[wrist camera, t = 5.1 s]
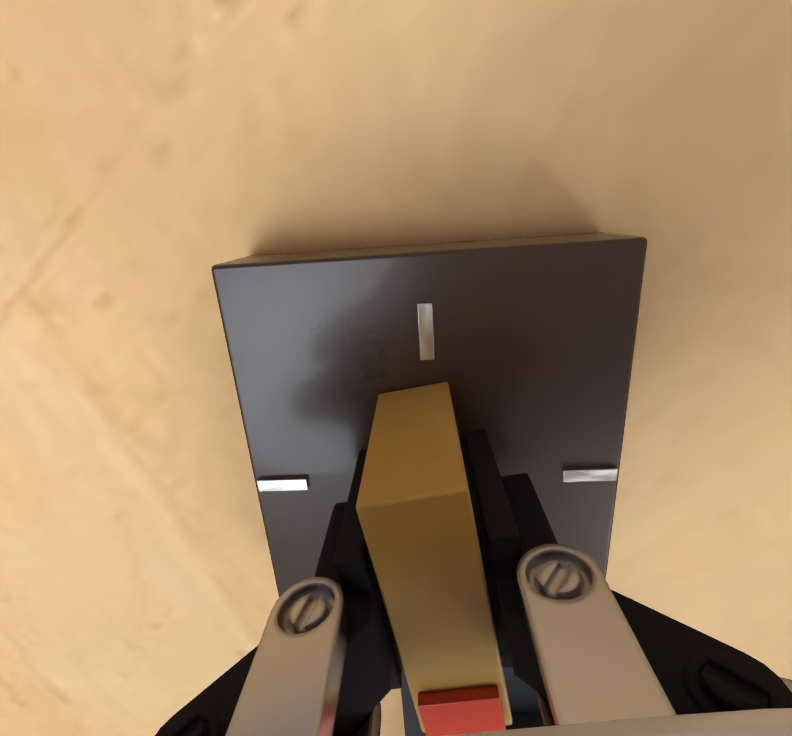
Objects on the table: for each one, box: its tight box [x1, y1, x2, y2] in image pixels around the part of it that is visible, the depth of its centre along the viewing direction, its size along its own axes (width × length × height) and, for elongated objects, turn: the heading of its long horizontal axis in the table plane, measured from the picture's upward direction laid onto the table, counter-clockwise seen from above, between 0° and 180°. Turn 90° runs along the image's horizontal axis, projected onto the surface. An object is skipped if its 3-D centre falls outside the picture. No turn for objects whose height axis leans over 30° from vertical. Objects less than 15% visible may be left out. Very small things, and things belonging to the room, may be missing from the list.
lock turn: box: [356, 382, 513, 736], centre depth 10 cm, size 6×2×5 cm, turn 12°
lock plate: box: [212, 233, 647, 598], centre depth 13 cm, size 12×10×3 cm
